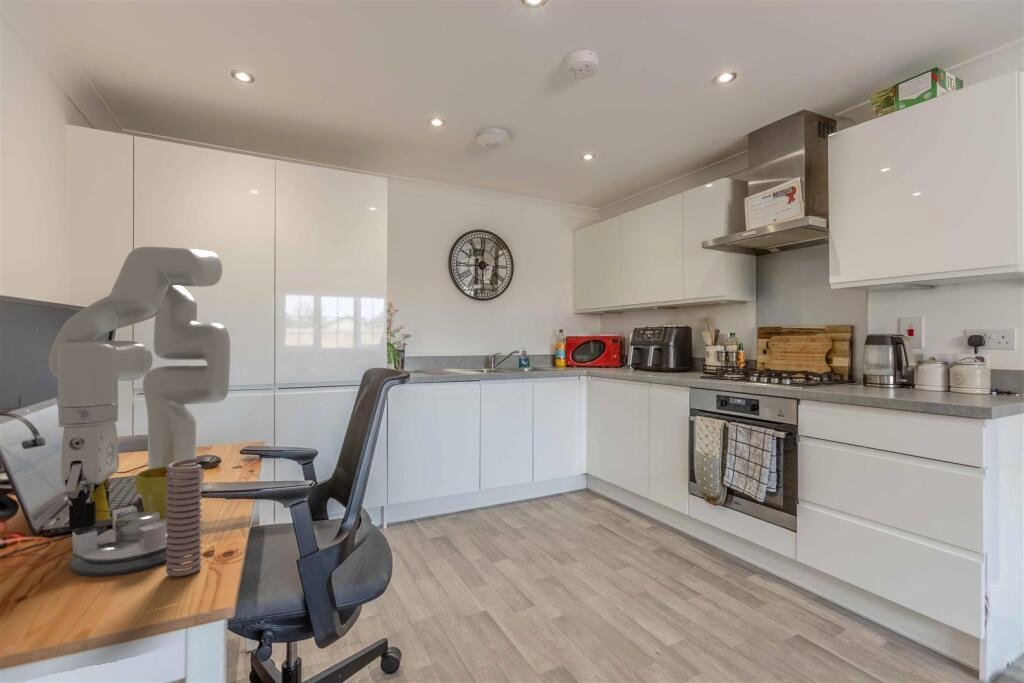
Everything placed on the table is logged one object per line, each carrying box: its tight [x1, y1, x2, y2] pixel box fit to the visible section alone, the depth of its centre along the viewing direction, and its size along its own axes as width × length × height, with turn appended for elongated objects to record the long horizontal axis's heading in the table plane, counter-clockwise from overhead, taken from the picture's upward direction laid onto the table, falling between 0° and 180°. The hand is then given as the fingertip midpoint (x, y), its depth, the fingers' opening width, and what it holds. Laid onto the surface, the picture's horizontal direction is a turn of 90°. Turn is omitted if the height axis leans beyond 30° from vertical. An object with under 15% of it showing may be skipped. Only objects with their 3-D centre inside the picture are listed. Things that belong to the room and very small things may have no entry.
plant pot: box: [135, 465, 184, 520], centre depth 98 cm, size 10×10×10 cm
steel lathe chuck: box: [72, 505, 191, 563], centre depth 81 cm, size 15×15×4 cm
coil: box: [165, 457, 203, 577], centre depth 74 cm, size 5×5×18 cm
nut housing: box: [69, 543, 191, 578], centre depth 81 cm, size 17×17×2 cm
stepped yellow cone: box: [73, 482, 113, 536], centre depth 80 cm, size 5×5×10 cm
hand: (90, 519), depth 79 cm, fingers closed on stepped yellow cone, 5 cm apart
